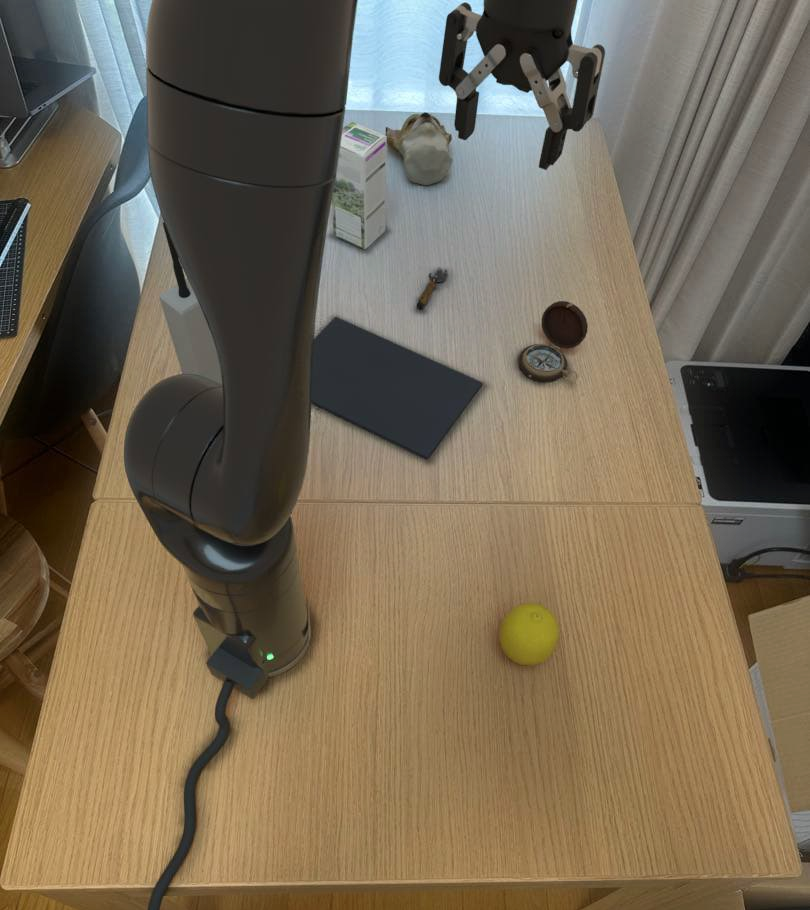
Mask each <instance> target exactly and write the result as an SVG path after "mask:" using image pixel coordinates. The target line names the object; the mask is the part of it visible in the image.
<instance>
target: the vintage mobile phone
mask: <svg viewBox="0 0 810 910" xmlns="http://www.w3.org/2000/svg"><path fill="white" fill-rule="evenodd" d="M162 227H163V230H164V233H165V239H166V241H167V245H168V248H169V252H170V256H171V260H172V269H173V272H174V275H175V279H176V283H177V284H175V285H173V286H171V287H169V288H168V289H166V290H165V291H163V292H161V293H160V294H159V298H158V299H159V301H160V305H161V308H162V311H163V314H164V318H165V321H166V324H167V327H168V330H169V334H170V338H171V341H172V345H173V347H174V351H175V353H176V358H177V361H178V364H179V367H180V371H181V374H197V375H201V376H204V377H206V378H209V379H211V380H213V381H215V382H217V383H219V384H221V385H222V378H221V369H220V364H219V359H218V354H217V351H216V347H215V344H214V340H213V337H212V334H211V332H210V329H209V327H208V324H207V321H206V319H205V316H204V314H203V311H202V309H201V307H200V304H199V302H198V300H197V298H196V296H195V293H194V291H193V289H192V287H191V285H190V283H189V280H188V278H187V277H185V272H184V269H183V267H182V265H181V263H180V260H179V258H178V256H177V254H176V251H175V249H174V246H173V244H172V241H171V239H170V236H169V234H168V232H167V229H166V226H165V224H164V221H163V222H162Z"/></svg>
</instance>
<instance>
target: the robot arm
mask: <svg viewBox="0 0 810 910" xmlns="http://www.w3.org/2000/svg"><path fill="white" fill-rule="evenodd" d="M358 2H359V0H151V4H150V9H149V13H148V17H147V27H146V37H145V39H146V40H145V64H146V69H145V74H146V75H145V79H146V122H147V123H146V125H147V127H146V129H147V131H146V132H147V156H148V157H147V158H148V166H149V174H150V180H151V185H152V189H153V192H154V196H155V198H156V202H157V205H158V208H159V212H160V215H161V218H162V220H163V222H164V224H165V226H166V229H167V232H168V234H169V236H170V239H171V241H172V244H173V246H174V249H175V251H176V254H177V256H178V258H179V262H180V264H181V266H182V269H183V273H184V275H185V276H186V279H187V278H188V280H189V283H190V285H191V287H192V289H193V291H194V293H195V296H196V298H197V300H198V302H199V304H200V307H201V309H202V311H203V314H204V316H205V319H206V321H207V324H208V327H209V329H210V332H211V334H212V337H213V340H214V344H215V347H216V351H217V354H218V359H219V364H220V369H221V378H222V385H221V384H219V383H217V382H215V381H213V380H211V379H209V378H206V377H204V376H201V375H197V374H182V373H179V374H174V375H172V376H169V377H166V378H164V379H163V380H160V381H159V382H157V383H155V384H154V385H153V386H152V387H151V388H150V389H148V391H146V392H145V393H144V395H143V396H142V397H141V399H140V400H139V401H138V403H137V405H136V406H135V408H134V410H133V411H132V413H131V415H130V418H129V421H128V423H127V426H126V431H125V435H124V439H123V440H124V442H123V463H124V464H123V465H124V470H125V474H126V478H127V481H128V484H129V487H130V489H131V491H132V494H133V496H134V497H135V499H136V501H137V503H138V505H139V508H140V509H141V511H142V512H143V515H144V516H145V518H146V520H147V521H148V523H149V526H150V527H151V529H152V530H153V532H154V534H155V536H156V538H157V540H158V541H159V543H160V545H161V546H162V547H163V548H164V550H166V551H167V553H168V554H170V555H171V557H173V558H174V559H175V560H176V561H177V562H178V563H179V564H180V565H181V567H182V568H183V570H184V573H185V576H186V577H187V581H188V582H189V584H190V587H191V588H192V592H193V594H194V596H195V598H196V601H197V603H198V606H197V607H196V608H195V609H194V610H193V612H192V616H193V618H194V621H195V624H196V625H197V627H198V630H199V632H200V634H201V636H202V638H203V641H204V643H205V645H206V647H207V649H208V651H209V653H210V655H211V656H209V658H208V660H207V661H206V662H205V664H206V666H207V668H208V671H209V673H210V675H212V676H214V677H215V678H217V679H218V680H220V681H221V682H223V683H222V685H221V689H220V691H219V693H218V696H217V700H216V702H215V707H214V719H215V721H216V723H217V725H218V726H219V727H218V731H217V734H216V735H215V737H214V739H213V740H212V742H211V743H210V744H209V745H208V746H207V747H206V748H205V749H204V750H203V752H202V753H201V754H200V755H199V756H198V757H197V758H196V760H195V761H194V762H193V763H192V765H191V767H190V769H189V771H188V773H187V776H186V778H185V781H184V782H185V784H184V788H183V811H184V812H183V813H184V814H183V815H184V823H183V830H182V831H183V832H182V835H181V839H180V842H179V843H178V847H177V848H176V851H175V853H174V854H173V856H172V858H171V859H170V861H169V862H168V864H167V865H166V867H165V869H164V870H163V872H162V873H161V875H160V877H159V878H158V880H157V882H156V883H155V885H154V887H153V890H152V892H151V895H150V898H149V901H148V905H147V910H161V905H162V902H163V899H164V896H165V894H166V892H167V889H168V888H169V886H170V885H171V882H172V881H173V879H174V878H175V876H176V875H177V873H178V871H179V870H180V868H181V866H182V865H183V864H184V863H185V862H184V861H185V860H186V858H187V857H188V854H189V852H190V850H191V847H192V844H193V841H194V838H195V834H196V829H197V806H196V789H197V784H198V779H199V777H200V774H201V773H202V772H203V769H204V768H205V767H206V765H207V764H209V762H210V761H211V760H212V759H213V758H214V757H215V755H216V754H218V752H219V751H220V750H221V749H222V747H223V746H224V744H225V743H226V741H227V739H228V736H229V733H230V730H231V724H230V720H229V718H228V716H227V715H226V710H227V705H228V702H229V700H230V697H231V694H232V692H233V689H235V690H236V691H238V692H240V693H241V694H243V695H244V696H246V697H248V698H249V699H250V700H255V698H256V696H257V695H258V694H259V692H260V691H261V689H262V688H263V687H264V686H265V684H266V683H267V682H268V680H269V678H272V677H275V676H279V675H282V674H284V673H286V672H287V671H289V670H290V669H292V668H293V667H294V666H296V665H297V664H298V663H299V662H300V660H302V658H303V657H304V655H305V654H306V652H307V650H308V649H309V646H310V643H311V638H312V625H311V620H310V604H309V603H310V602H309V600H308V601H307V602H306V595H305V590H304V584H303V578H302V571H301V565H300V561H299V560H300V559H299V552H298V546H297V539H296V533H295V526H294V522H293V518H292V513H293V512H294V509H295V507H296V505H297V502H298V500H299V497H300V494H301V492H302V489H303V486H304V482H305V477H306V473H307V467H308V462H309V461H308V460H309V452H310V441H311V424H312V423H311V422H312V404H311V395H312V365H313V346H314V339H315V331H316V330H315V329H316V320H317V309H318V300H319V294H320V293H319V292H320V284H321V275H322V267H323V260H324V253H325V246H326V245H325V244H326V239H327V232H328V225H329V218H330V213H331V209H332V197H333V191H334V185H335V180H336V173H337V167H338V159H339V152H340V145H341V137H342V130H343V128H344V122H345V114H346V107H347V106H346V105H347V101H348V100H347V99H348V92H349V91H348V90H349V82H350V81H349V80H350V71H351V62H352V61H351V59H352V51H353V42H354V34H355V33H354V32H355V24H356V17H357V11H358V10H357V9H358V4H359V3H358ZM577 5H578V0H483V11H482V14H479V13H477V12H474V11H473V9H472V6H471V5H470V3H468V2H462V3H461V4H459V5H458V6H457V7H456V8H454V9H453V10H452V11H451V12H449V13H448V14H447V15H446V20H445V27H444V33H443V41H442V42H443V43H442V49H441V50H442V51H441V57H440V65H439V74H438V81H439V84H440V85H442V86H443V87H450V88H451V89H452V90H453V91H454V94H455V96H456V104H455V114H454V123H453V125H454V129H455V131H457V132H458V133H457V138H458V139H459V140H462V141H467V140H468V139H469V138H470V137H471V136H472V135H473V134H474V132H475V129H476V121H477V115H478V107H479V106H478V105H479V97H480V91H477V88H478V87H479V86H480V85H481V84H482V83H483V82H484V81H485V80H486V79H487V78H488V77H489V76H490V75H492V76H493V78H494V79H496V81H495V82H496V83H497V84H499V85H502V86H512V87H514V88H516V89H517V90H519V91H521V92H523V93H527V94H529V92H532V94H533V96H534V98H535V101H536V104H537V106H538V107H539V109H542V111H543V113H544V115H545V118H546V121H547V124H548V127H547V128H546V129H545V132H544V133H545V134H544V138H543V143H542V148H541V152H540V157H539V162H538V168H539V169H542V170H545V171H547V170H548V168H549V167H550V166H554V165H555V164H556V162H558V160H559V159H560V157H561V156H562V154H563V150H564V146H565V143H566V142H565V141H566V138H567V134H568V133H567V132H568V130H572V131H573V132H576V133H577V132H580V131H581V130H583V128H584V127H585V125H586V124H587V123H588V122H589V121H590V120H591V119H592V118H593V116H594V112H595V106H596V101H597V98H598V91H599V87H600V82H601V76H602V70H603V66H604V62H605V56H606V50H605V47H604V46H603V45H602V44H595V45H594V46H593V47H592V48H591V47H587V46H581V45H578V44H574V42H573V35H572V28H573V27H572V26H573V23H574V19H575V15H576V10H577ZM474 33H475V35H476V39H477V41H478V44H479V46H480V49H481V52H482V54H483V56H484V57H483V58H482V59H481V60H480V61H479V62H478V63H477V64H476V65H475V66H474V67H473V68H472V69H471V71H470V72H467V71H466V70H465V69H464V65H465V59H466V52H467V45H468V40H469V39H470V38H471V37H473V36H474ZM567 62H569V64H570V65H571V67H572V70H571V71H572V77H573V78H575V79H576V85H575V91H574V95H573V102H572V105H571V103H570V100H569V97H568V95H567V83H566V80H565V77H564V74H563V72H562V67H563V65H565V63H567ZM307 603H308V604H307ZM307 606H308V607H307Z"/></svg>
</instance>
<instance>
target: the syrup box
mask: <svg viewBox="0 0 810 910" xmlns="http://www.w3.org/2000/svg"><path fill="white" fill-rule="evenodd" d="M387 152H388V144H387V137H386V135H385V134H383V133H381V132H378V131H375V130H373V129H371V128H368V127H366V126H363V125H362V124H358V123H356V122H353V121H352V122H350V123H348V124H347V125H345V126H343V130H342V137H341V145H340V152H339V159H338V167H337V173H336V180H335V185H334V191H333V197H332V202H331V209H332V225H333V226H332V227H333V236H334V237H336V238H337V239H339V240H342V241H345V242H346V243H349V244H350V245H353V246H355V247H358V248H360V249H362V250H367V249H368V248H370V246H371V245H372V244H374V243H375V241H377V240H378V239H379V238H380V237H381V236H382V235H383V234H384V233H385V232H386V229H387V227H386V222H387V221H386V220H387V219H386V206H387V205H386V203H387V201H386V200H387V199H386V198H387V195H386V194H387V158H388V157H387V156H388V155H387V154H388V153H387Z"/></svg>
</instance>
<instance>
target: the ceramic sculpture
mask: <svg viewBox="0 0 810 910" xmlns="http://www.w3.org/2000/svg"><path fill="white" fill-rule="evenodd" d="M384 135H386V137H387V147H389V149H391V150H392V151H394V152H395V153H396V154H399V155H400V156H402V157H403V168H404V171H405V173H406V175H407V177H408V178H409V180H410V181H411V182H412V183H414V184H420V185H423V186H431V185H433V184H435V183H438V182H440V181H442V180H444V179H445V177H446V176H447V175H448V174H449V171H450V170H451V166H452V163H453V157H452V155H451V153H450V152H449V144H450V143H451V142H452V140H453V138H452V136H453V135H452V134H451V133H449V132H447V131H446V128H445V126H444V124H442V125H441V122H440V120H439V119H438V118H437V117H436V116H435V115H433V114H431V113H428V112H426V111H425V112H423V113H413V114H411V115H409V117H407V118H406V119H405V120H404V122H403V125H402V127H401V129H392V128H390V127H388V126H385V134H384Z"/></svg>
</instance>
